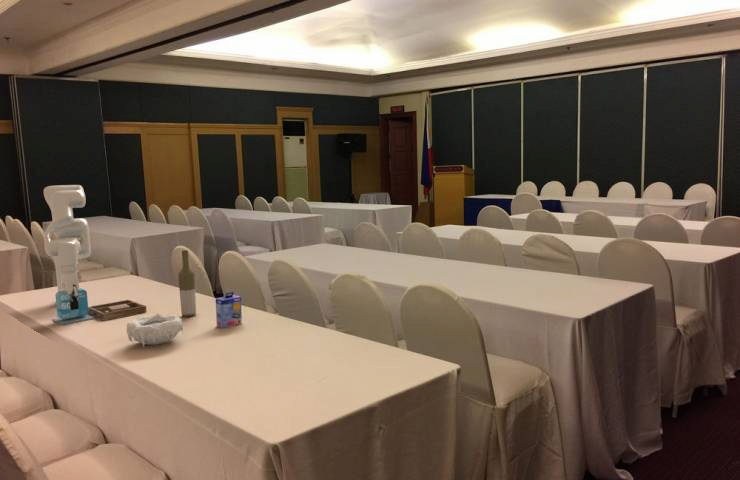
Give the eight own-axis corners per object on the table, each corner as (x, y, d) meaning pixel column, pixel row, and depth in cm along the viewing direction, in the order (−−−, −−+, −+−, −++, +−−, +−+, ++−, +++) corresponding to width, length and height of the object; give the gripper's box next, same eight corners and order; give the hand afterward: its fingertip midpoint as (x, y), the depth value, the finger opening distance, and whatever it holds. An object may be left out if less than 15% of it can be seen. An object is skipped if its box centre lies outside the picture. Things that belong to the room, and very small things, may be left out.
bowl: (128, 339, 234) (126, 314, 232) (182, 333, 241) (180, 309, 239) (127, 354, 214) (125, 328, 213) (185, 347, 222) (183, 321, 220)
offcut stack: (105, 315, 273) (104, 307, 272) (127, 311, 279) (126, 303, 279) (109, 318, 268) (109, 310, 267) (132, 314, 274) (131, 306, 273)
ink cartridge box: (223, 328, 246) (221, 294, 244) (215, 326, 250) (214, 293, 248) (243, 323, 253) (241, 290, 251) (235, 321, 257) (234, 289, 255)
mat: (52, 320, 265) (52, 319, 265) (85, 314, 274) (84, 313, 274) (61, 325, 256) (61, 324, 256) (94, 318, 266) (94, 317, 266)
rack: (88, 313, 276) (87, 307, 276) (129, 305, 290) (128, 299, 290) (103, 320, 263) (103, 314, 262) (146, 312, 276) (146, 305, 276)
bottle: (178, 315, 268) (173, 250, 264) (192, 312, 273) (188, 249, 269) (185, 318, 263) (181, 252, 259) (199, 315, 268) (195, 250, 264)
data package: (60, 320, 260) (58, 293, 258) (57, 318, 263) (54, 292, 261) (89, 314, 268) (86, 289, 266) (85, 313, 271) (83, 287, 269)
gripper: (53, 267, 266) (57, 307, 268) (66, 272, 254) (70, 313, 256) (71, 265, 271) (74, 303, 273) (84, 269, 259) (88, 310, 261)
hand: (72, 308), depth 265 cm, fingers closed on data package, 4 cm apart
